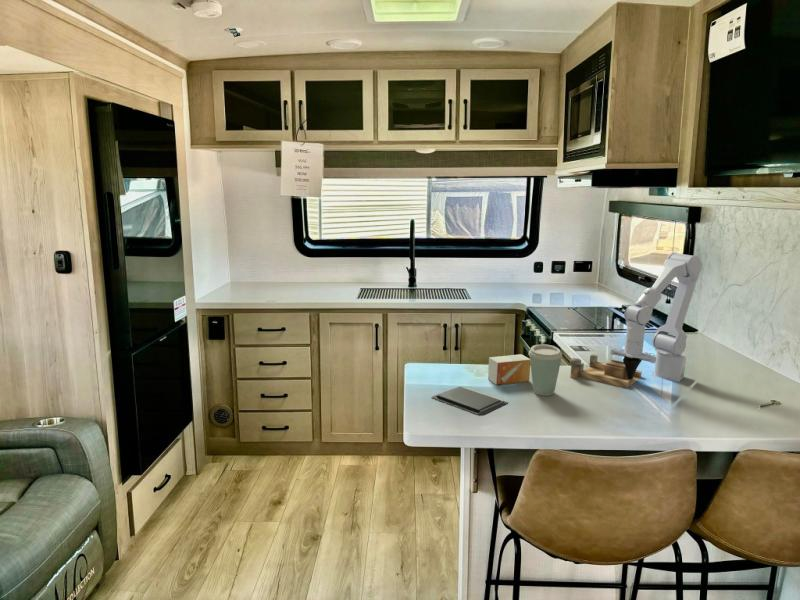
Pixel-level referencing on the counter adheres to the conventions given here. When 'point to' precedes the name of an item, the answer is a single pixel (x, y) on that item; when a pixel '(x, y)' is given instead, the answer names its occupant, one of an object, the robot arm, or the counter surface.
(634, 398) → the counter surface
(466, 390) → the dark grey rectangular slab
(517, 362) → the small box
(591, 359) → the wooden base
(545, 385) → the disposable coffee cup
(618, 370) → the crate
